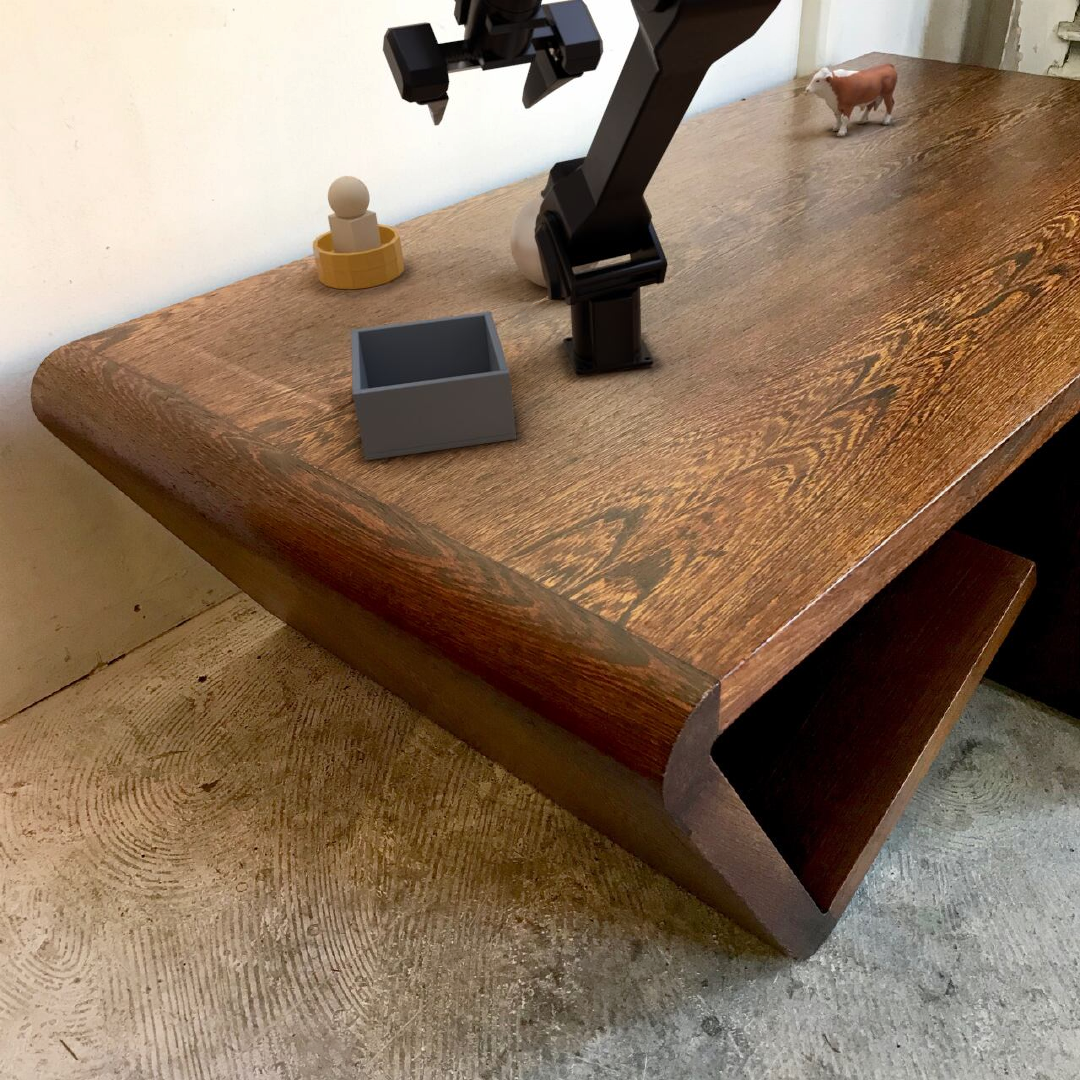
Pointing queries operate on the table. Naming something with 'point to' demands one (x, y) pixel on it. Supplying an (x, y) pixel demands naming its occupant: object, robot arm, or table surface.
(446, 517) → the table surface
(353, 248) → the ball-topped square peg
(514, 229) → the ghost figurine
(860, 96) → the bull figurine
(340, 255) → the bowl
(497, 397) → the bin
